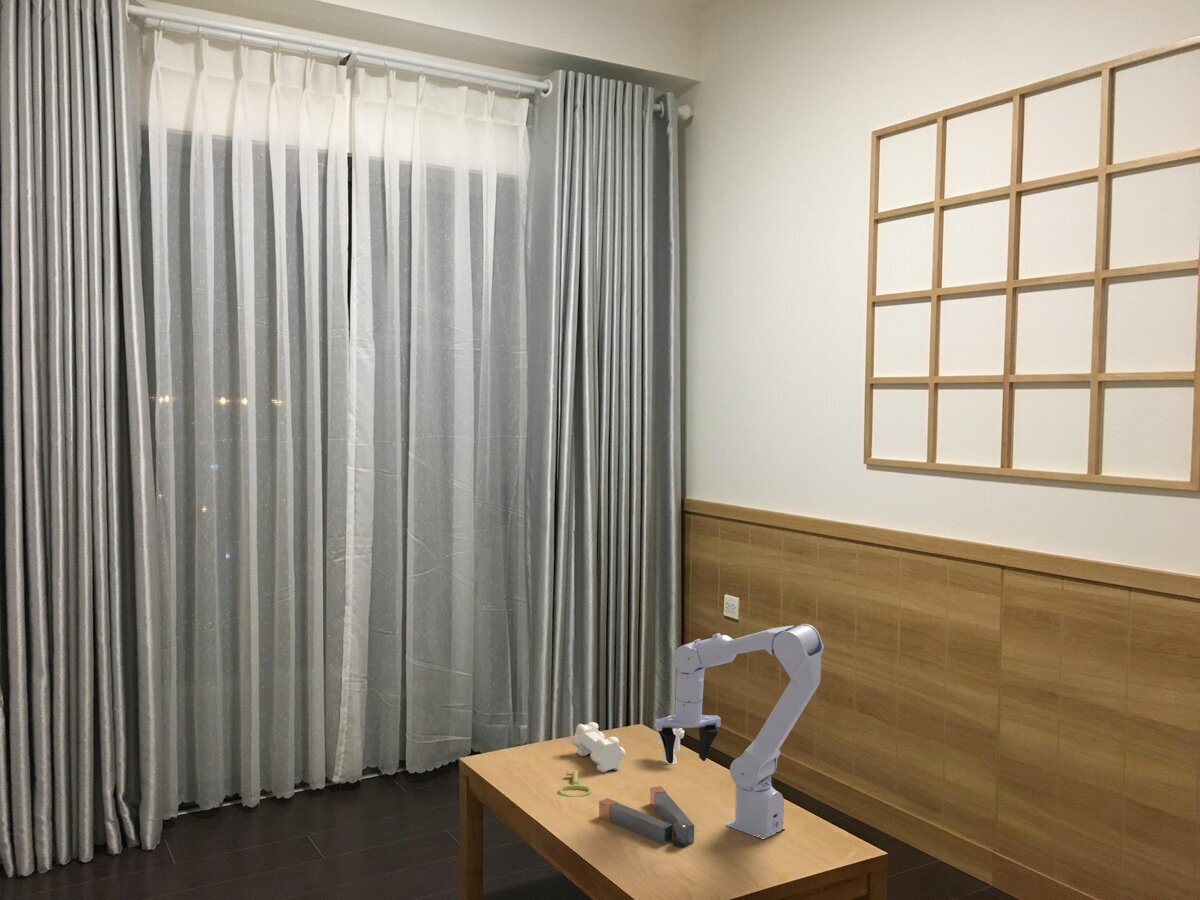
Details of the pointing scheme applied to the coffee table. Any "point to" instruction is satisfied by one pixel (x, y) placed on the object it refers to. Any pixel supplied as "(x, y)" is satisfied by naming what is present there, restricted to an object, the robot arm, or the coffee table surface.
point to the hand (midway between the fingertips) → (685, 760)
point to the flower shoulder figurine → (677, 742)
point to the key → (574, 786)
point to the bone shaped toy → (598, 747)
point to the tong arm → (672, 816)
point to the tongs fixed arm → (635, 821)
